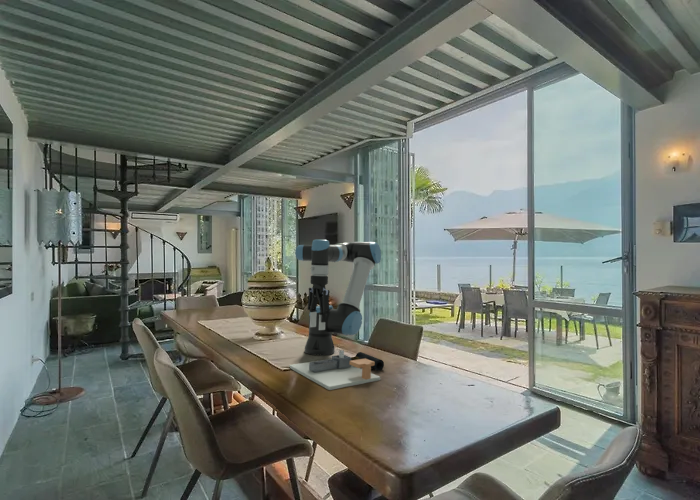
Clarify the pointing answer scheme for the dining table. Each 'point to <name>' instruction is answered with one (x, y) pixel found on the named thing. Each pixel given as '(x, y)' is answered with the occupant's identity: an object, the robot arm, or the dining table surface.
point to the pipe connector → (378, 363)
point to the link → (330, 364)
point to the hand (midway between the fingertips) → (317, 328)
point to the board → (334, 376)
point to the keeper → (363, 366)
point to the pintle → (341, 354)
